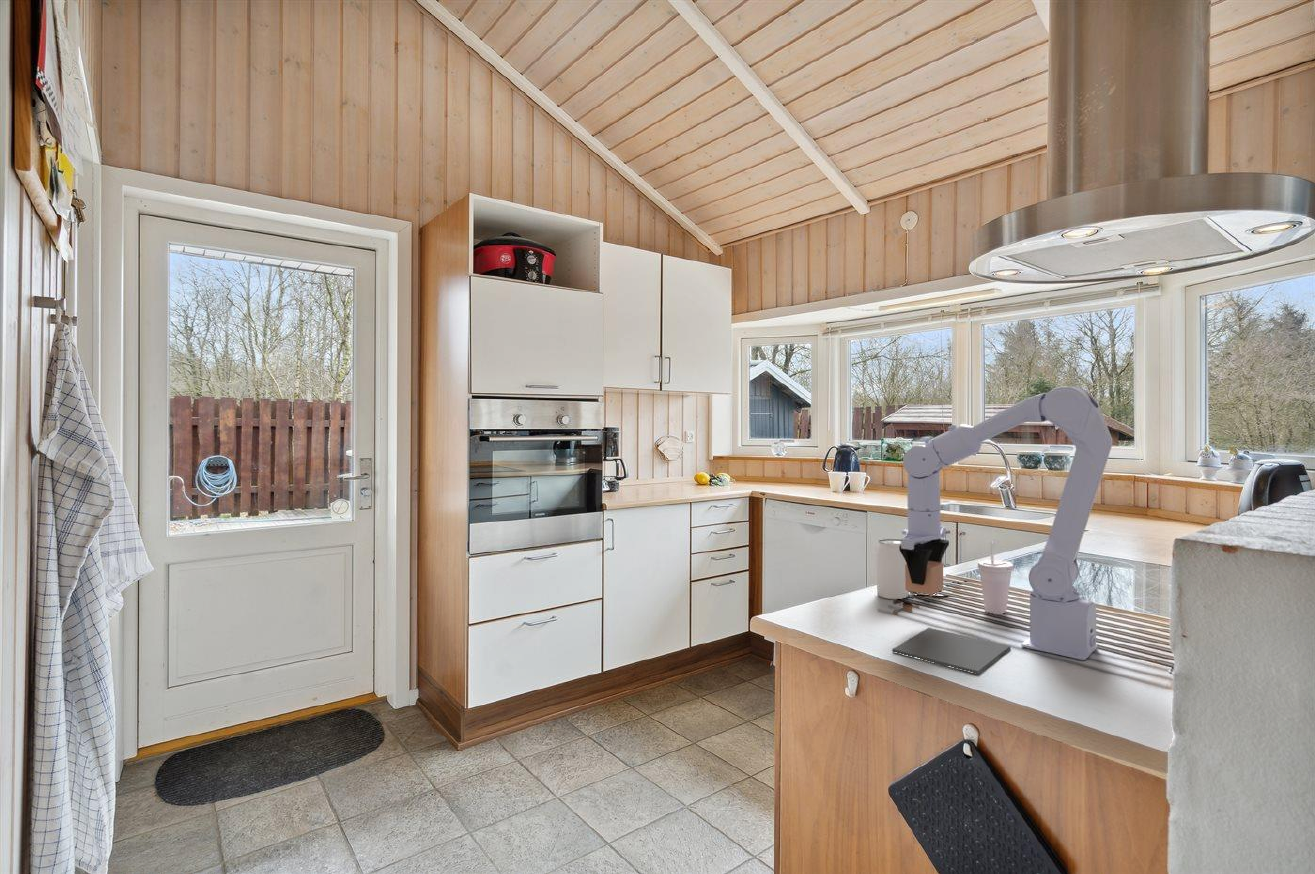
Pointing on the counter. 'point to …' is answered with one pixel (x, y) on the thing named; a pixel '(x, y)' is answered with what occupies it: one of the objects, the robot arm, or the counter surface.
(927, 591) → the cube
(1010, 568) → the smoothie
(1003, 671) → the counter surface
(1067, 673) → the counter surface
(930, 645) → the mat
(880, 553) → the can
